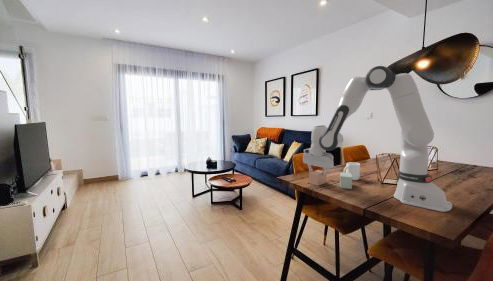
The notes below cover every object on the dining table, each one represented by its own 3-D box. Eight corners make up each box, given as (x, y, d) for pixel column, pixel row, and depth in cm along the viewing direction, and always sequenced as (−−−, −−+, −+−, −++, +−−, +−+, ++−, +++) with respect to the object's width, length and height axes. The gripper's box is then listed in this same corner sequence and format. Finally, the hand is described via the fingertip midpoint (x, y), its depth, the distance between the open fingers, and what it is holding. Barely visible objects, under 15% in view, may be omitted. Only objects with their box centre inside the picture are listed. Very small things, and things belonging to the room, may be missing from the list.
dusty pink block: (326, 182, 137) (326, 172, 136) (317, 185, 131) (317, 174, 131) (317, 180, 142) (317, 170, 141) (309, 183, 136) (309, 172, 135)
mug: (348, 181, 138) (348, 166, 137) (338, 178, 146) (339, 163, 145) (362, 179, 142) (363, 164, 141) (352, 176, 150) (353, 161, 149)
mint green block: (350, 184, 134) (351, 173, 133) (351, 189, 125) (352, 177, 124) (339, 183, 136) (340, 172, 135) (340, 187, 127) (340, 176, 127)
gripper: (336, 153, 128) (335, 175, 130) (307, 148, 144) (306, 168, 146) (330, 154, 124) (329, 177, 126) (301, 149, 140) (300, 170, 142)
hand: (317, 172), depth 136 cm, fingers open, 8 cm apart
